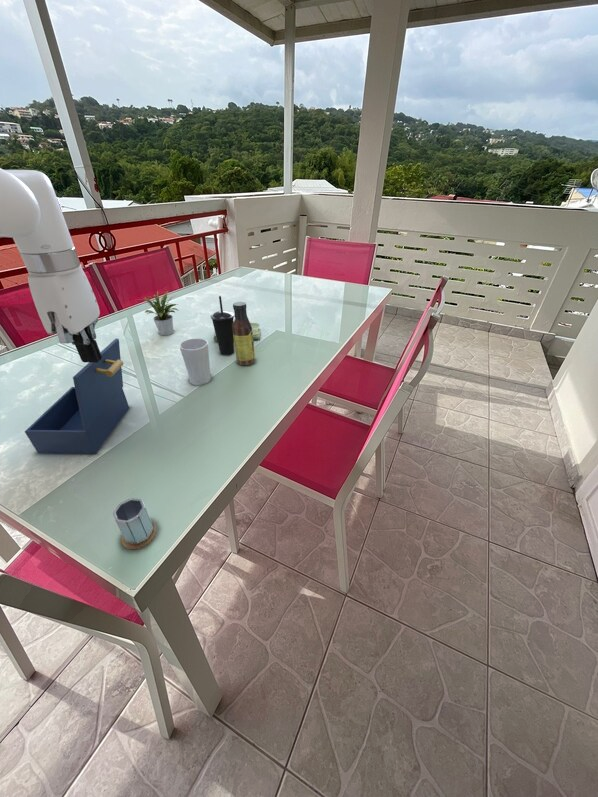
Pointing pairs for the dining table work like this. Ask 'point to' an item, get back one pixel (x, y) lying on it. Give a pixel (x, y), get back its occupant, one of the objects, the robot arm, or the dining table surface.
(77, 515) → the dining table surface
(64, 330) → the robot arm
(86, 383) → the lid
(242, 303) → the sauce bottle
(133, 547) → the coaster
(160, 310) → the house plant
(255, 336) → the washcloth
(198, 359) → the cup
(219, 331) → the drinking cup
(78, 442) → the chest
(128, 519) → the tumbler
